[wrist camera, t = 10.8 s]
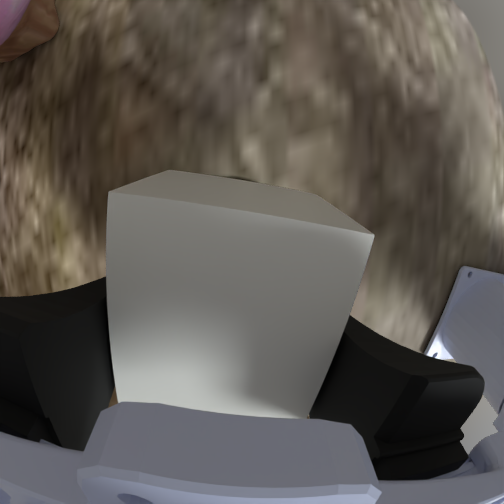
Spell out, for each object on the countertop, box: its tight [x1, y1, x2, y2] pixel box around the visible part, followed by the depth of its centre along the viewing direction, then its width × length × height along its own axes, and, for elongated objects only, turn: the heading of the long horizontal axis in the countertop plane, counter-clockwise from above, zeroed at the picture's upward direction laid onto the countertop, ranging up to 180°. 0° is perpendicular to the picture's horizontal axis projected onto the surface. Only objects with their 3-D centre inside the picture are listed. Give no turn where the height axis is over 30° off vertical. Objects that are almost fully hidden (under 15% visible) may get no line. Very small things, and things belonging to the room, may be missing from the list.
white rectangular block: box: [106, 170, 375, 419], centre depth 10 cm, size 6×9×6 cm, turn 170°
